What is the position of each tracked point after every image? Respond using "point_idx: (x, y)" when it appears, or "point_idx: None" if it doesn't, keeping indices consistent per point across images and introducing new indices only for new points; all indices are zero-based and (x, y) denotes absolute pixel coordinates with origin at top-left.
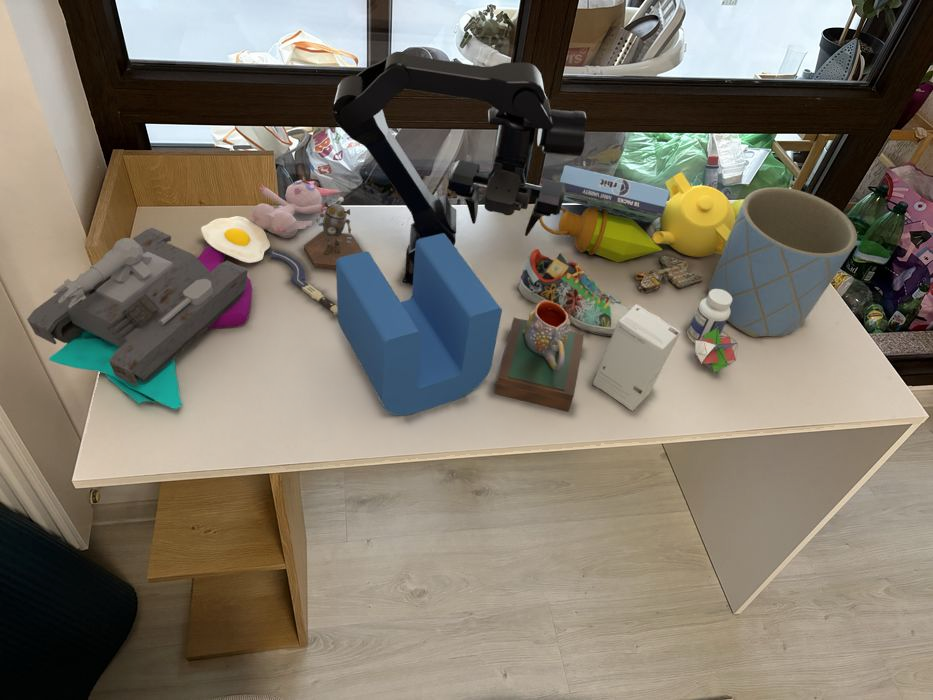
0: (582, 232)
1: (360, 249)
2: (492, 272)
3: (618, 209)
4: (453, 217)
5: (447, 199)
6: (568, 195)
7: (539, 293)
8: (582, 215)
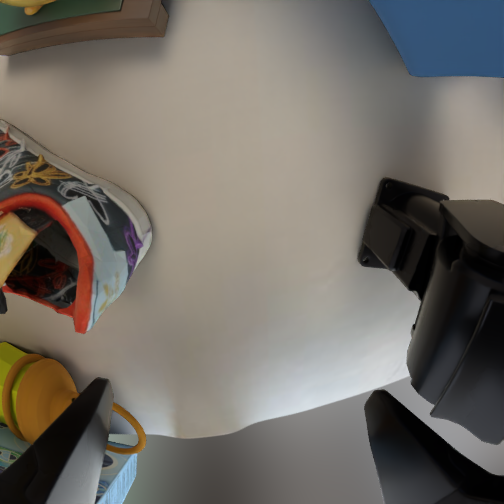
0: (40, 398)
1: None
2: (232, 276)
3: (9, 437)
4: (468, 379)
5: (483, 434)
6: None
7: (75, 179)
8: None
